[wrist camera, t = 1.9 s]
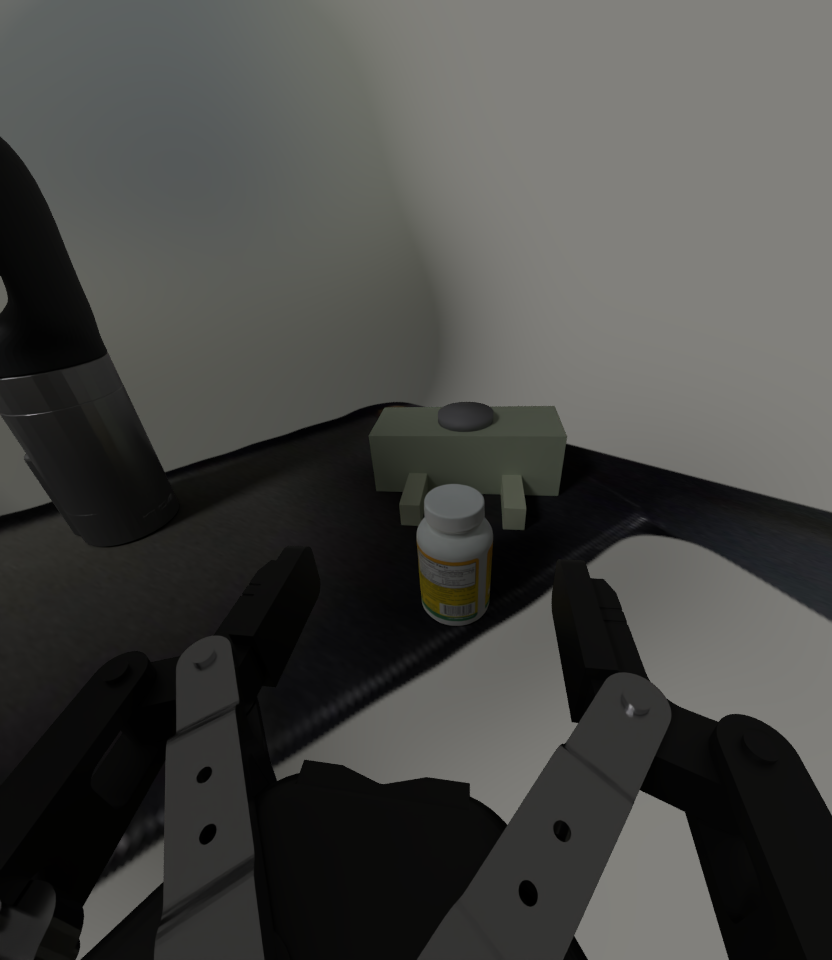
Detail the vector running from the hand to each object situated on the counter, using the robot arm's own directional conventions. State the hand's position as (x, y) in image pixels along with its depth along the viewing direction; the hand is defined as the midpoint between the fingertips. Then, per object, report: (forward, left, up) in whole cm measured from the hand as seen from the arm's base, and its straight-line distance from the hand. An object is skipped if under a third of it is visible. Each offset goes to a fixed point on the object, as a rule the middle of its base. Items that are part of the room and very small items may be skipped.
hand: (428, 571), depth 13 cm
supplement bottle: (0, +12, -15) cm, 19 cm away
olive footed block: (0, +28, -15) cm, 32 cm away
